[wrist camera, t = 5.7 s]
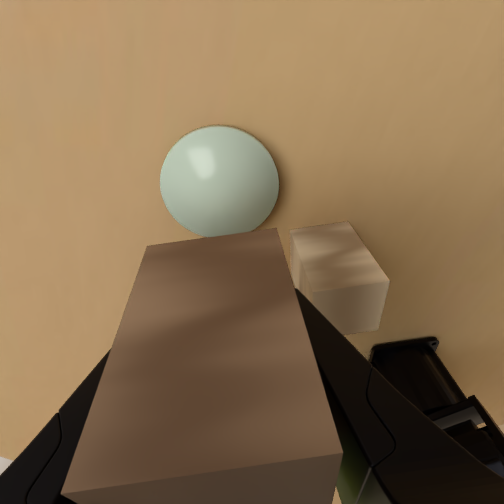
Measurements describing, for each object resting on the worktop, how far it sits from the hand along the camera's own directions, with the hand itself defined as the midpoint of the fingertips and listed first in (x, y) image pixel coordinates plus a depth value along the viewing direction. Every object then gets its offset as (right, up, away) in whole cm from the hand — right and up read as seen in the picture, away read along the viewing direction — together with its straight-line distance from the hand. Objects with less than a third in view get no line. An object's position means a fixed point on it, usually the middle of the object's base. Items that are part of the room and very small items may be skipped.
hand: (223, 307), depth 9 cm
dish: (-1, +6, +8) cm, 10 cm away
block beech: (+6, +2, +12) cm, 13 cm away
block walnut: (0, +1, +1) cm, 1 cm away
